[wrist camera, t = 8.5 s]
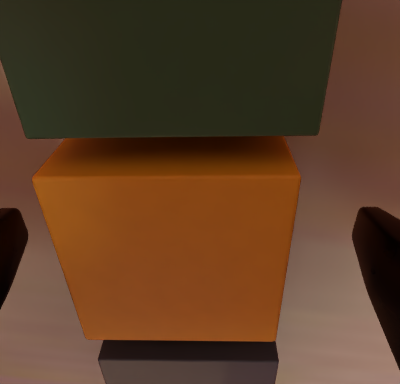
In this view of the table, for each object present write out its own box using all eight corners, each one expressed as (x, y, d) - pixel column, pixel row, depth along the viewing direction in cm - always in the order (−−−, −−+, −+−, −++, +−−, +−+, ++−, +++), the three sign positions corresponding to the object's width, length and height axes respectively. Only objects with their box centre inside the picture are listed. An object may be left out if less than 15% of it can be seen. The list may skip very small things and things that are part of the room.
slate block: (254, 320, 16) (269, 443, 12) (145, 319, 16) (123, 440, 12) (262, 239, 14) (285, 361, 9) (131, 239, 14) (97, 359, 10)
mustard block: (259, 222, 13) (282, 343, 9) (124, 222, 13) (84, 341, 9) (271, 91, 10) (311, 175, 6) (101, 94, 11) (28, 177, 6)
